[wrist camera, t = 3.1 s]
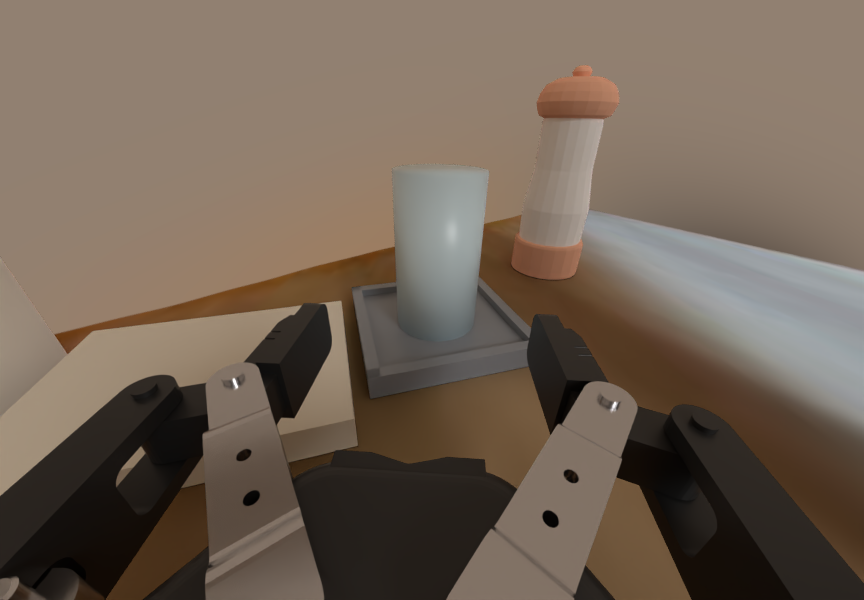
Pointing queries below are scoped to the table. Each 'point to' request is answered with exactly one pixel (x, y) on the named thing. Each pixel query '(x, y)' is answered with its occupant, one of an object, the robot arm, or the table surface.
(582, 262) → the table surface
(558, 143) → the pepper shaker
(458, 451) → the table surface
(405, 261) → the pale grey cylinder
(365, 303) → the tray
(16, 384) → the white c-shaped stand
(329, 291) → the table surface
